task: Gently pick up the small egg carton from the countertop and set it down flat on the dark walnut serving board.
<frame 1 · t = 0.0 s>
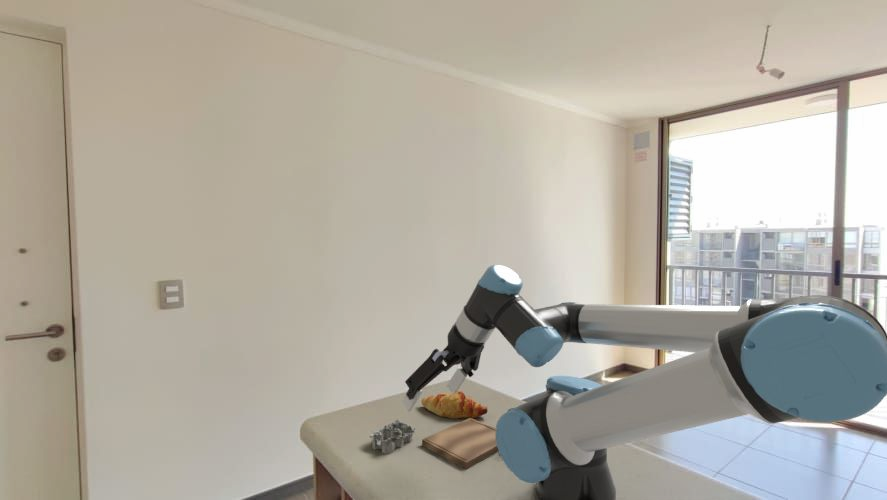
hand: (429, 397, 94), 15 cm above the table, tool tilted 35°, fingers open, 13 cm apart
croissant: (453, 413, 123), on the table
walnut board: (468, 443, 104), on the table
lion figurine: (528, 446, 103), on the table
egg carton: (392, 444, 105), on the table
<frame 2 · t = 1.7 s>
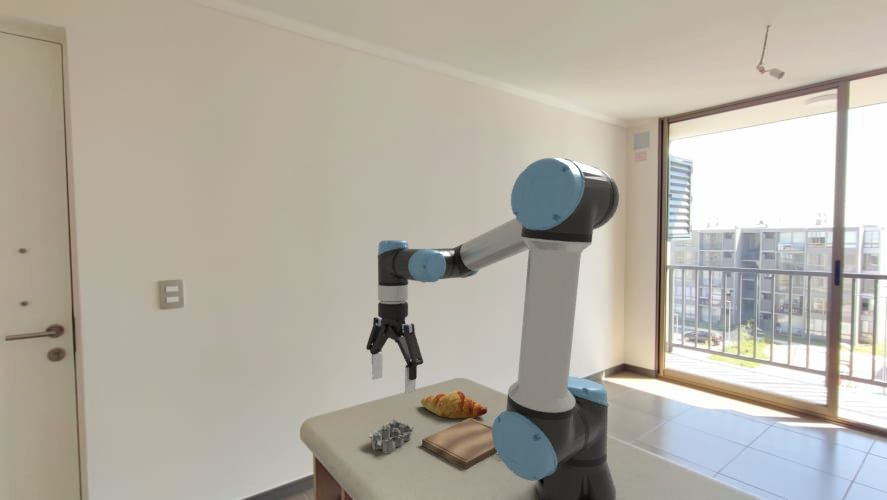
hand: (392, 385, 105), 14 cm above the table, tool pointing down, fingers open, 13 cm apart
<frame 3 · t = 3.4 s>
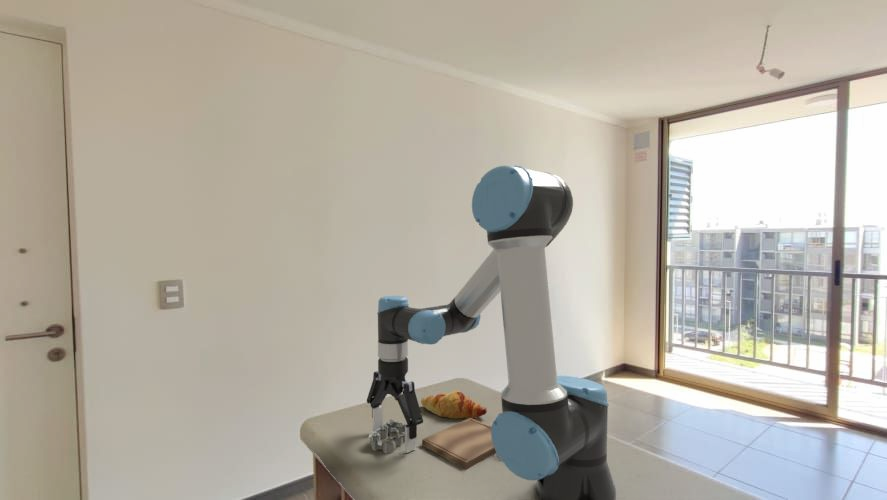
hand: (393, 440, 105), 0 cm above the table, tool pointing down, fingers open, 13 cm apart
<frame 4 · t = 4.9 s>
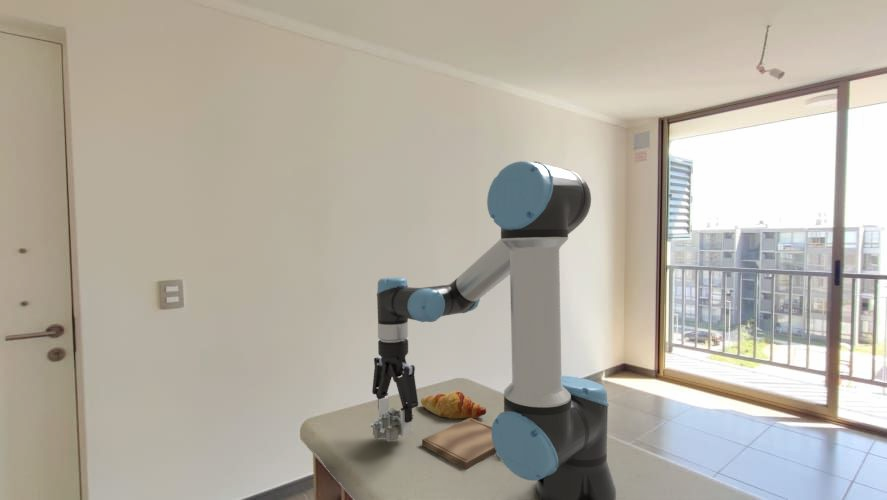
hand: (394, 428, 104), 4 cm above the table, tool pointing down, fingers closed on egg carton, 8 cm apart
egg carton: (392, 432, 104), point 3 cm above the table, touching gripper
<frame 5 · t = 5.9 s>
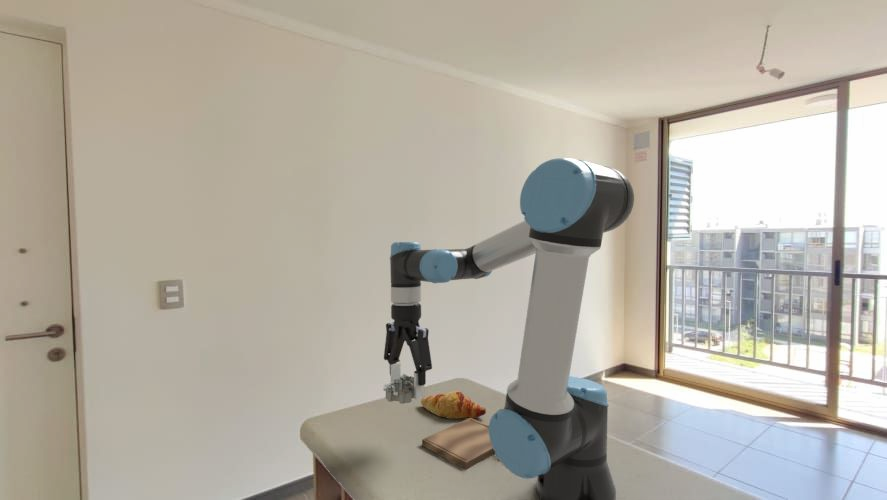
hand: (407, 393, 104), 13 cm above the table, tool pointing down, fingers closed on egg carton, 8 cm apart
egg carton: (404, 396, 103), point 12 cm above the table, touching gripper
when the fingers open (2 cm above the table, at t = 8.8 s): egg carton stays where it is, resting on walnut board.
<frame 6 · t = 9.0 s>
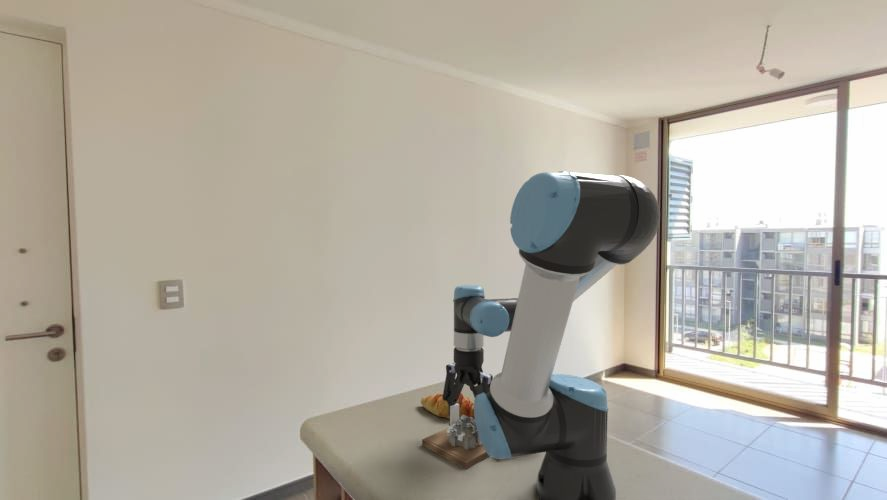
hand: (468, 436, 104), 2 cm above the table, tool pointing down, fingers open, 9 cm apart
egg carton: (466, 439, 103), point 1 cm above the table, touching walnut board
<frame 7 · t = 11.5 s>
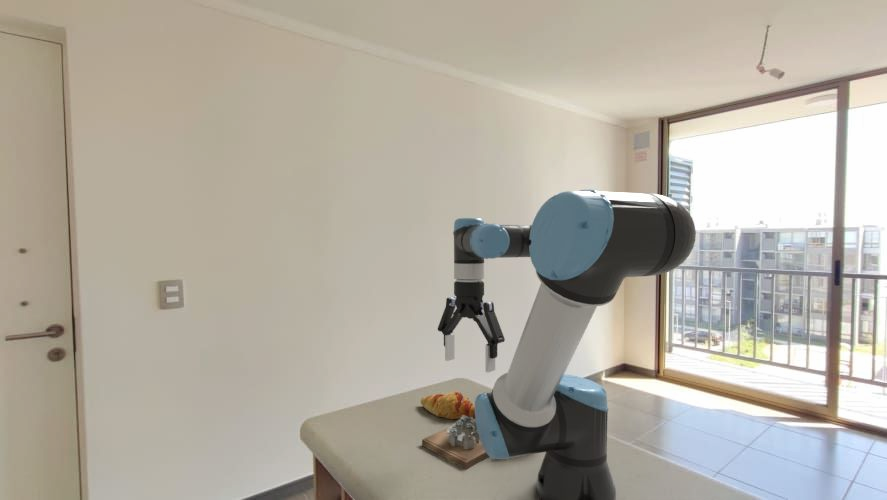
hand: (469, 365, 103), 20 cm above the table, tool pointing down, fingers open, 13 cm apart
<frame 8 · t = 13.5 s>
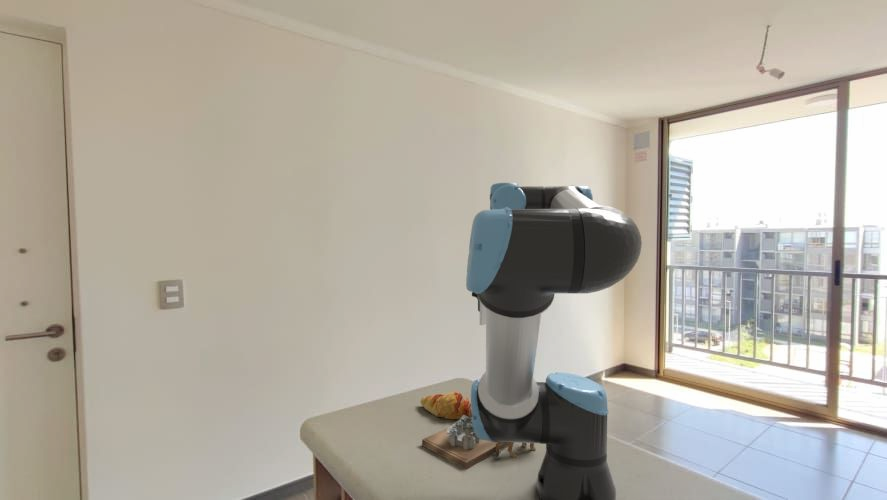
hand: (504, 328, 105), 29 cm above the table, tool pointing down, fingers open, 13 cm apart
at the end: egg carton inside the target area on the walnut board (0.8 cm from its centre), point 1.3 cm above the walnut board's base; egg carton tilted 0°; the gripper is holding nothing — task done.
